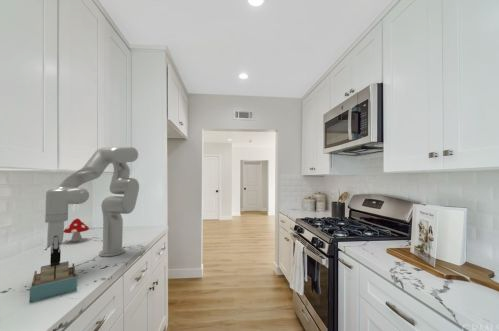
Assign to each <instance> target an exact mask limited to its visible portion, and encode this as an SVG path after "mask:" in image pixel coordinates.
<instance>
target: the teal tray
mask: <svg viewBox="0 0 499 331" xmlns="http://www.w3.org/2000/svg"><path fill="white" fill-rule="evenodd" d="M77 289H78V276H76V277H73V278H69V279H64V280H60V281H55V282H51V283H47V284H42V285H38V286H33V287H32V286H30V287H29V303H34V302H37V301H42V300H44V299H48V298H52V297H55V296H61V295H64V294H68V293H72V292H76V291H77Z"/></svg>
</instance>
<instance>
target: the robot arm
mask: <svg viewBox="0 0 499 331" xmlns="http://www.w3.org/2000/svg"><path fill="white" fill-rule="evenodd" d="M138 158H139V152H138V150H137V149H136V148H135V147H133V146H130V147H129V146H126V147H124V146H123V147H121V146H119V147H116V146H115V147H100V148H98V149H97V150H95V152H94V153H93V154H92V155H91V157H90V158H89V159H88V160H87V162H86V163H85V164H84V166H82V168H80V169H78V170H77V171H74V172H73V173H72V174H70V175H69V176H67V177H66V178H65V179H64V180H62V181H61V183H60V184H59V185H58V186H57V188H54V189H53V188H52V189H48V190H46V193H45V211H44V212H45V215H44V218H45V221H44V222H45V223H46V224H47V238H46V239H47V240H46V247H47V248H50V247H52V251H51V250H50V260H49V261H50V263H57V262H60V263H61V254H62V253H61V246H62V245H63V241H64V234H65V233H64V230H65V222H67V221H68V220H69V205H81V204H83V203H86V202H87V201H88V200H89V198H90V192H89V190H87V189H85V188H83V187H80V186H82V185H83V184H87V183H88V182H90V181H94V180H96V179H98V178H100V177H101V175H103V173H104V171H105V170H106V169H107V167H108V166H109V165H110V164H112V166H113V172H112V173H113V174H112V177H111V181H110V184H109V192H110V193H111V194H114V196H113V195H112V196H111V195H110V196H107V197H105V198H104V199H103V200H102V202H101V205H100V207H101V211H102V212H101V213H102V219H103V220H102V225H103V226H102V250H101V251H99V252H98V255H99V256H100V257H106V258H107V257H114V256H115V257H116V256H119V255H122V254H124V253H126V248H125V247H123V235H124V234H123V231H124V230H123V228H124V227H123V225H124V224H123V223H124V221H123V216H122V214H124V215H128V214H131V213H133V211H134V210H135V208H136V204H137V201H138V200H137V199H138V195H139V191H140V183H139V181H138V180H137V179H136V178H134V177H130V174H131V170H130V166H129V164H127V163H132V162H133V163H134V162H135V161H137V159H138ZM118 195H119V196H118ZM120 195H122V196H120ZM53 247H54V248H53ZM50 263H49V264H50Z"/></svg>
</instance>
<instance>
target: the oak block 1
mask: <svg viewBox="0 0 499 331" xmlns="http://www.w3.org/2000/svg"><path fill="white" fill-rule="evenodd" d="M40 273H41V282H44V281H48V280H53V279H54V266H52V267H47V268H42V269H41V268H40Z"/></svg>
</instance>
